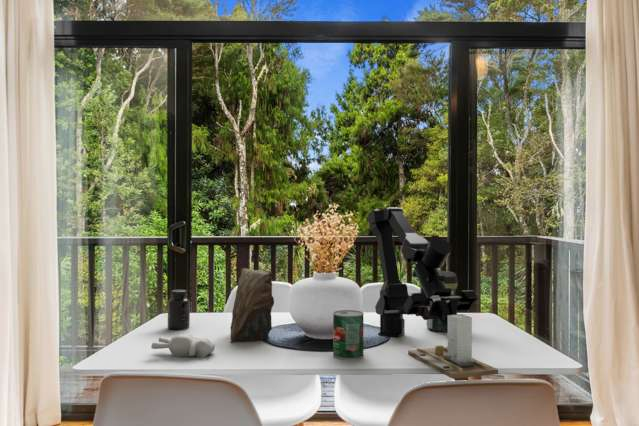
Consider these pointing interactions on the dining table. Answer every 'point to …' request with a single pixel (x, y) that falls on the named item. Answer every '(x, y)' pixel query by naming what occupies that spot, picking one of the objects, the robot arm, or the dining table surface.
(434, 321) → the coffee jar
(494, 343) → the dining table surface
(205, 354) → the bunny figurine
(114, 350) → the dining table surface
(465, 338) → the grey rectangular block
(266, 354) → the dining table surface
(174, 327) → the supplement bottle
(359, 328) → the canned tomato
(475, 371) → the trammel board
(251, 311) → the tall brown stone
